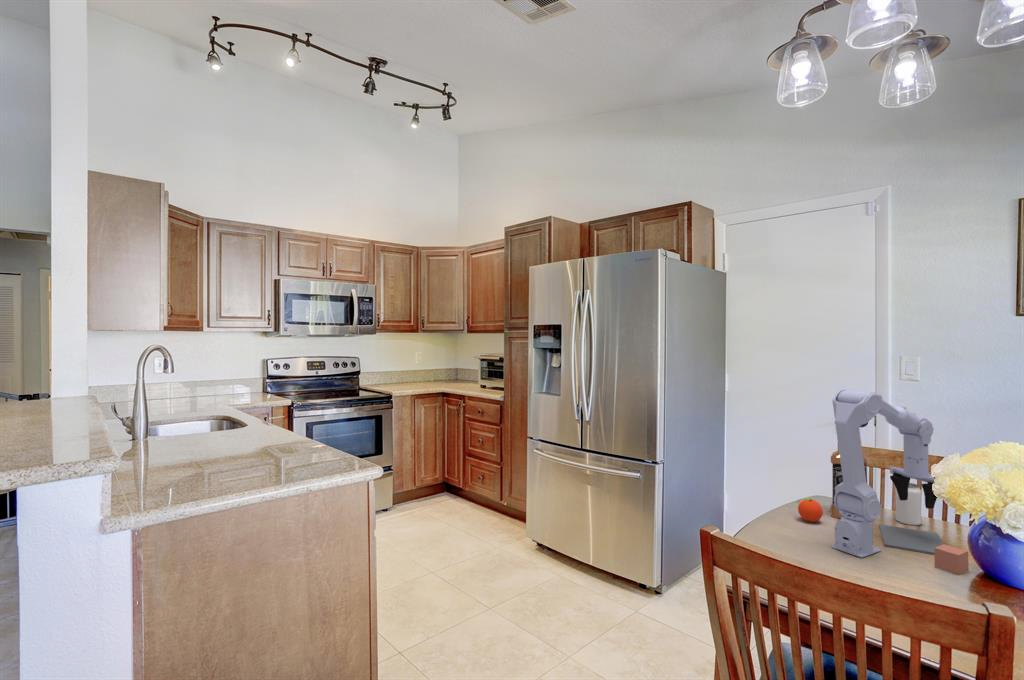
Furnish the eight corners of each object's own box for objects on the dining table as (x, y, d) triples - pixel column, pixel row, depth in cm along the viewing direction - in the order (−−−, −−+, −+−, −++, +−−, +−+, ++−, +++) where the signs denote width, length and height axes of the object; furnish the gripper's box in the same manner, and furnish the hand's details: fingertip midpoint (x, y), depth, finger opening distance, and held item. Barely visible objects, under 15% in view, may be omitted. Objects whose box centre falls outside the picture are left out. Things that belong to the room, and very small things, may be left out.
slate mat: (949, 557, 134) (949, 555, 134) (884, 546, 141) (884, 544, 141) (937, 535, 149) (937, 533, 149) (879, 526, 156) (879, 524, 156)
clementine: (790, 518, 164) (789, 496, 164) (804, 515, 167) (803, 493, 167) (813, 526, 157) (813, 503, 157) (828, 522, 160) (827, 500, 160)
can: (898, 523, 158) (897, 486, 158) (893, 517, 164) (893, 480, 164) (924, 527, 155) (923, 488, 155) (918, 520, 161) (918, 483, 161)
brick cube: (959, 575, 124) (958, 555, 124) (934, 567, 128) (934, 547, 128) (968, 571, 126) (968, 551, 126) (944, 563, 130) (943, 544, 130)
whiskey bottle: (830, 517, 165) (829, 420, 165) (833, 508, 172) (832, 416, 173) (869, 523, 158) (868, 422, 159) (870, 515, 166) (869, 418, 166)
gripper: (953, 462, 141) (953, 510, 141) (902, 451, 155) (902, 495, 155) (933, 464, 140) (934, 512, 139) (884, 453, 154) (884, 497, 154)
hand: (916, 504), depth 147 cm, fingers open, 7 cm apart
